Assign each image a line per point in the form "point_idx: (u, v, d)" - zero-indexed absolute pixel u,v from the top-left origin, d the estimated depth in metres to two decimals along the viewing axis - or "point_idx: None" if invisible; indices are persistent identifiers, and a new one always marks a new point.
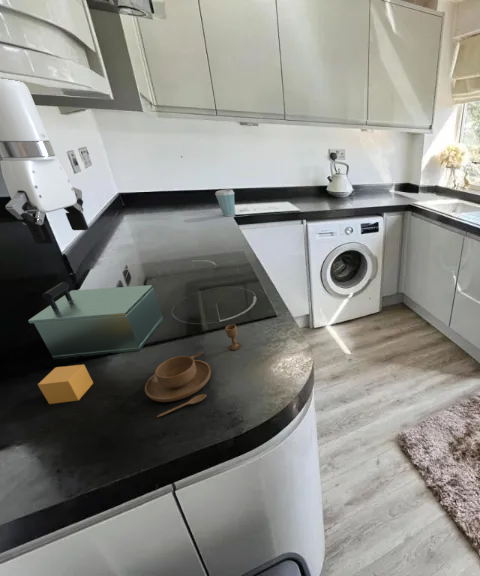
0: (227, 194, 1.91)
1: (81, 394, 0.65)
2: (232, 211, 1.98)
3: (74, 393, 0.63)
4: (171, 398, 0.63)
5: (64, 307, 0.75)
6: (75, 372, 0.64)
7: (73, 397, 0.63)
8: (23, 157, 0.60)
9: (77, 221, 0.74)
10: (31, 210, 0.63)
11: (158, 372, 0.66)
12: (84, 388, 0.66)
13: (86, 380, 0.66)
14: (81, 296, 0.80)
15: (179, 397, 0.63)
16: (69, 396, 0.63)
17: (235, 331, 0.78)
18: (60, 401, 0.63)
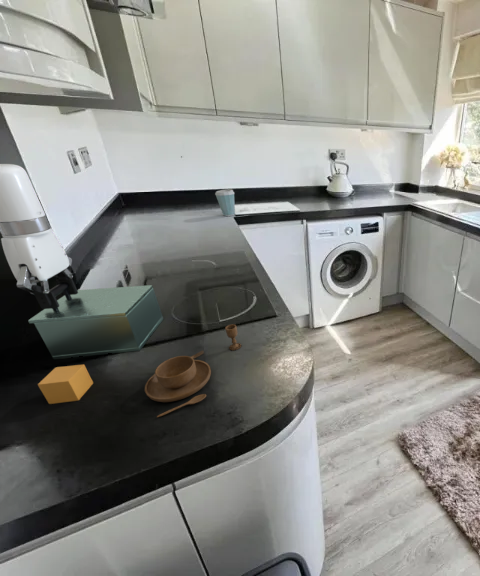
0: (227, 194, 1.91)
1: (81, 394, 0.65)
2: (232, 211, 1.98)
3: (74, 393, 0.63)
4: (171, 398, 0.63)
5: (64, 307, 0.75)
6: (75, 372, 0.64)
7: (73, 397, 0.63)
8: (24, 234, 0.66)
9: None
10: (35, 281, 0.70)
11: (158, 372, 0.66)
12: (84, 388, 0.66)
13: (86, 380, 0.66)
14: (81, 296, 0.80)
15: (179, 397, 0.63)
16: (69, 396, 0.63)
17: (235, 331, 0.78)
18: (60, 401, 0.63)
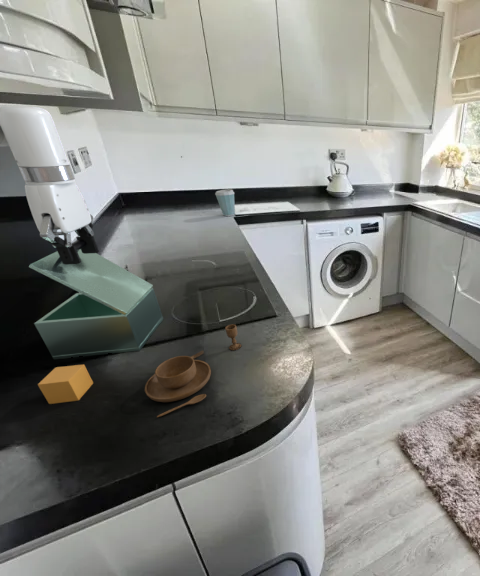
0: (227, 194, 1.91)
1: (81, 394, 0.65)
2: (232, 211, 1.98)
3: (74, 393, 0.63)
4: (171, 398, 0.63)
5: (68, 266, 0.71)
6: (75, 372, 0.64)
7: (73, 397, 0.63)
8: (48, 181, 0.63)
9: (88, 245, 0.75)
10: (58, 233, 0.67)
11: (158, 372, 0.66)
12: (84, 388, 0.66)
13: (86, 380, 0.66)
14: (85, 258, 0.77)
15: (179, 397, 0.63)
16: (69, 396, 0.63)
17: (235, 331, 0.78)
18: (60, 401, 0.63)
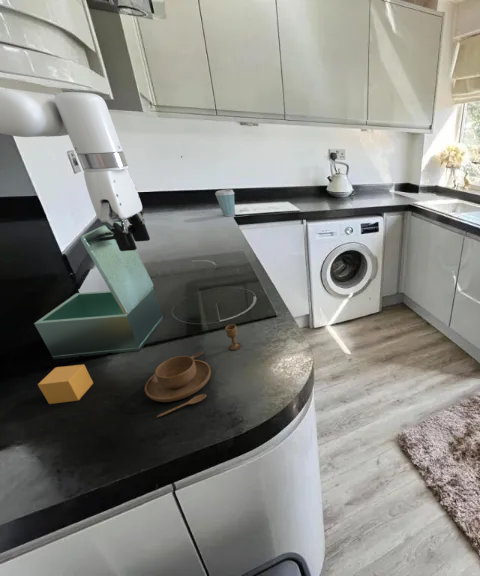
0: (227, 194, 1.91)
1: (81, 394, 0.65)
2: (232, 211, 1.98)
3: (74, 393, 0.63)
4: (171, 398, 0.63)
5: (106, 247, 0.71)
6: (75, 372, 0.64)
7: (73, 397, 0.63)
8: (105, 168, 0.64)
9: (140, 232, 0.76)
10: (115, 220, 0.68)
11: (158, 372, 0.66)
12: (84, 388, 0.66)
13: (86, 380, 0.66)
14: None
15: (179, 397, 0.63)
16: (69, 396, 0.63)
17: (235, 331, 0.78)
18: (60, 401, 0.63)
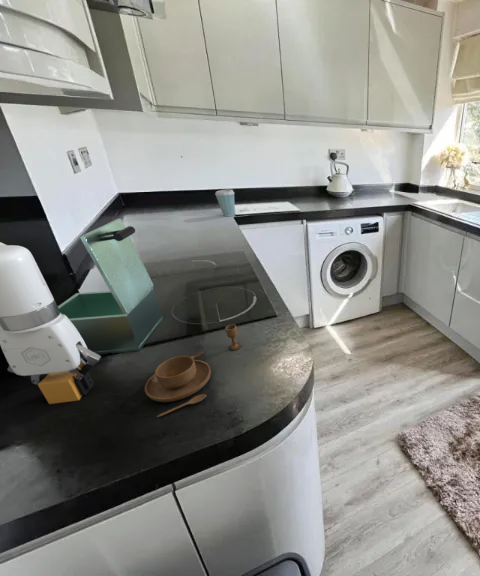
0: (227, 194, 1.91)
1: None
2: (232, 211, 1.98)
3: (74, 393, 0.63)
4: (171, 398, 0.63)
5: (107, 247, 0.71)
6: None
7: (73, 397, 0.63)
8: (60, 313, 0.60)
9: None
10: None
11: (158, 372, 0.66)
12: None
13: None
14: None
15: (179, 397, 0.63)
16: (69, 396, 0.63)
17: (235, 331, 0.78)
18: (60, 401, 0.63)
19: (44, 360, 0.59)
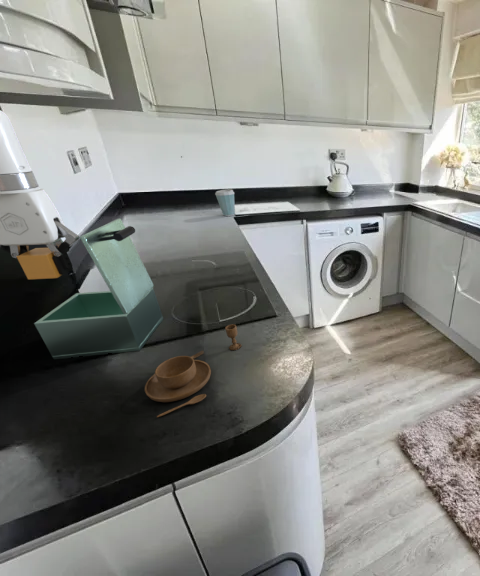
0: (227, 194, 1.91)
1: None
2: (232, 211, 1.98)
3: (52, 270, 0.65)
4: (171, 398, 0.63)
5: (107, 247, 0.71)
6: None
7: (51, 274, 0.66)
8: (38, 186, 0.62)
9: None
10: (56, 241, 0.65)
11: (158, 372, 0.66)
12: None
13: None
14: None
15: (179, 397, 0.63)
16: (47, 272, 0.65)
17: (235, 331, 0.78)
18: (39, 277, 0.65)
19: (22, 229, 0.61)
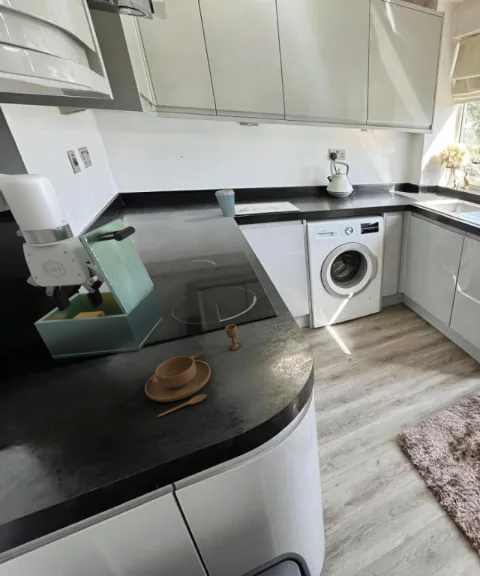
0: (227, 194, 1.91)
1: None
2: (232, 211, 1.98)
3: None
4: (171, 398, 0.63)
5: (107, 247, 0.71)
6: (96, 316, 0.80)
7: None
8: (73, 235, 0.73)
9: (64, 299, 0.77)
10: (88, 280, 0.76)
11: (158, 372, 0.66)
12: None
13: None
14: None
15: (179, 397, 0.63)
16: None
17: (235, 331, 0.78)
18: None
19: (60, 273, 0.71)
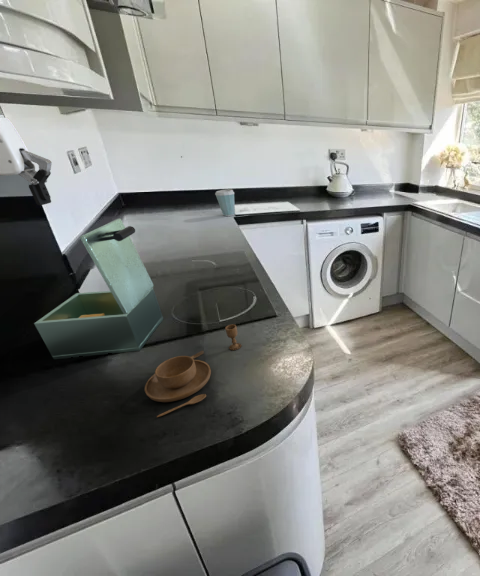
0: (227, 194, 1.91)
1: None
2: (232, 211, 1.98)
3: None
4: (171, 398, 0.63)
5: (107, 247, 0.71)
6: None
7: None
8: (2, 114, 0.60)
9: None
10: (27, 169, 0.63)
11: (158, 372, 0.66)
12: None
13: None
14: None
15: (179, 397, 0.63)
16: None
17: (235, 331, 0.78)
18: None
19: None
